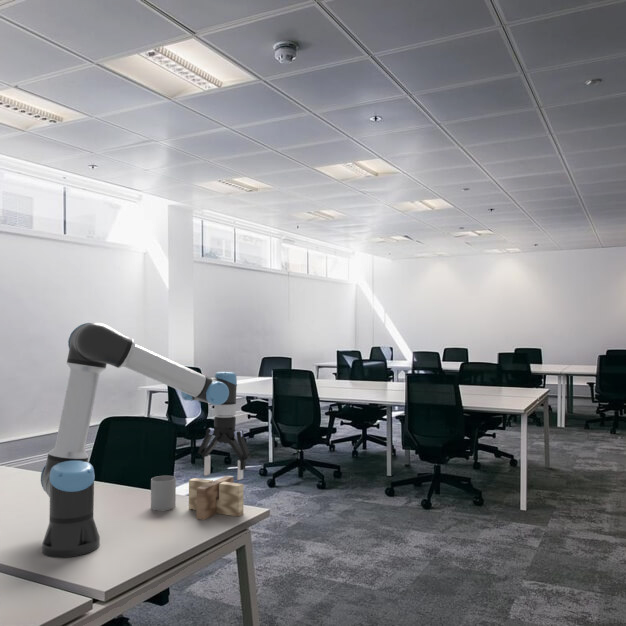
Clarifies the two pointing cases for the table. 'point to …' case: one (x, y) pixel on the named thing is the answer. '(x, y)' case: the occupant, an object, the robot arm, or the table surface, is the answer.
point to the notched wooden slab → (220, 496)
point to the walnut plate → (209, 497)
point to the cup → (163, 492)
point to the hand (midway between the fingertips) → (223, 476)
